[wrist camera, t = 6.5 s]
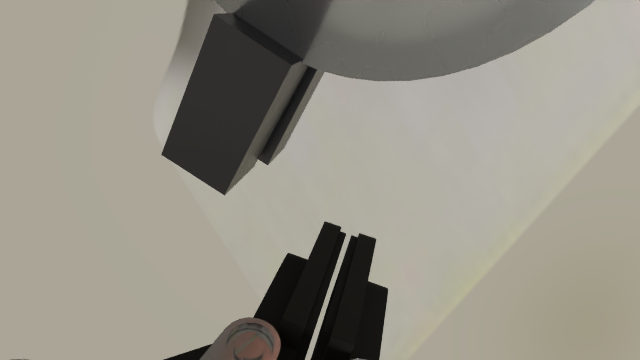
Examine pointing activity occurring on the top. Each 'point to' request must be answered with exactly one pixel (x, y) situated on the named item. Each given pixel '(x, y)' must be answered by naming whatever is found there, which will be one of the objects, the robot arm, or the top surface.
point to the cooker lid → (329, 62)
